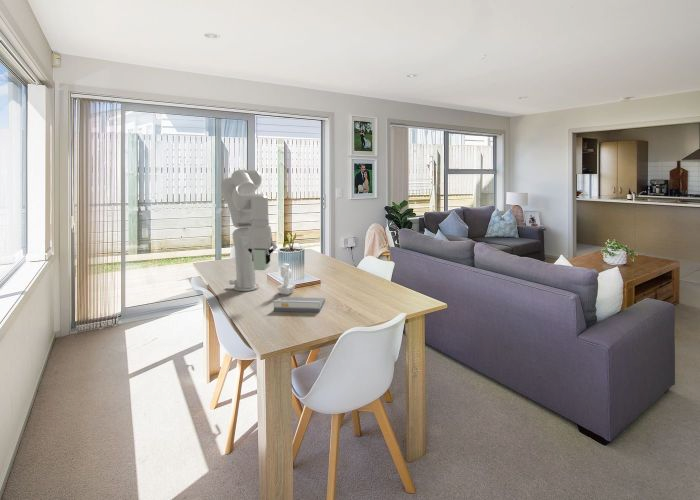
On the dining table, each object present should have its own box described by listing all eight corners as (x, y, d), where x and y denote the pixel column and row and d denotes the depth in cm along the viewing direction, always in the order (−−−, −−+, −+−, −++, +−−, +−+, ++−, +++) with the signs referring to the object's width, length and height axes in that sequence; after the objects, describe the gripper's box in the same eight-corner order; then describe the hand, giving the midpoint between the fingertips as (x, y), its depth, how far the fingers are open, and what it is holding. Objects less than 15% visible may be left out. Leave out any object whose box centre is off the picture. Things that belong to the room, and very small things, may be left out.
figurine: (296, 291, 211) (296, 262, 209) (290, 296, 202) (289, 266, 200) (283, 290, 213) (282, 261, 211) (276, 295, 204) (275, 265, 201)
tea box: (264, 270, 185) (264, 250, 183) (253, 269, 185) (252, 250, 184) (269, 266, 193) (269, 247, 191) (258, 266, 193) (258, 246, 191)
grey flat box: (273, 311, 180) (273, 301, 179) (282, 300, 196) (282, 290, 195) (319, 312, 178) (319, 302, 177) (324, 301, 194) (324, 291, 193)
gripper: (238, 224, 182) (240, 264, 186) (276, 224, 181) (277, 265, 184) (244, 221, 190) (245, 260, 193) (281, 222, 188) (282, 261, 192)
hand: (261, 262), depth 189 cm, fingers closed on tea box, 5 cm apart
